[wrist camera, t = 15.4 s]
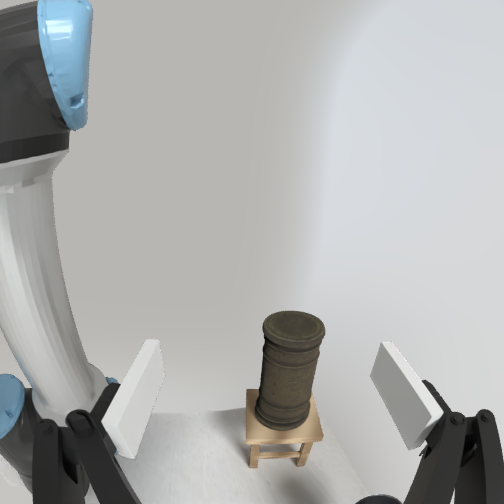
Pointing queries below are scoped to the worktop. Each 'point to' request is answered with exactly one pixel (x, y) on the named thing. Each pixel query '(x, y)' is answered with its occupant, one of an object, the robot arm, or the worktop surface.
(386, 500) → the wine glass
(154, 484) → the worktop surface
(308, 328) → the container
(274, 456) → the stool
